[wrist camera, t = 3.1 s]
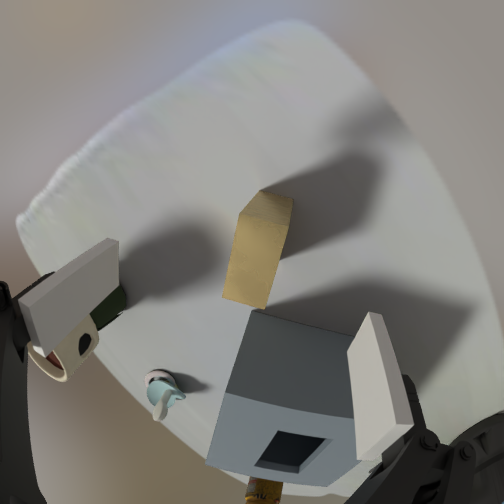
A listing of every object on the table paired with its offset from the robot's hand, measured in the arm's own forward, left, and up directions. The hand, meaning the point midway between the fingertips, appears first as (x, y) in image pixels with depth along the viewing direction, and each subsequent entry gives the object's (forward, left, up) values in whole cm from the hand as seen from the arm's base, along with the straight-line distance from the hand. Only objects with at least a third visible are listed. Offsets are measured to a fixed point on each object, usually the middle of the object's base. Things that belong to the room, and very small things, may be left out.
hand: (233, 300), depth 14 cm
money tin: (-8, +17, -13) cm, 23 cm away
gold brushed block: (0, 0, -13) cm, 13 cm away
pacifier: (+8, +27, -13) cm, 31 cm away
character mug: (+17, +13, -13) cm, 25 cm away
